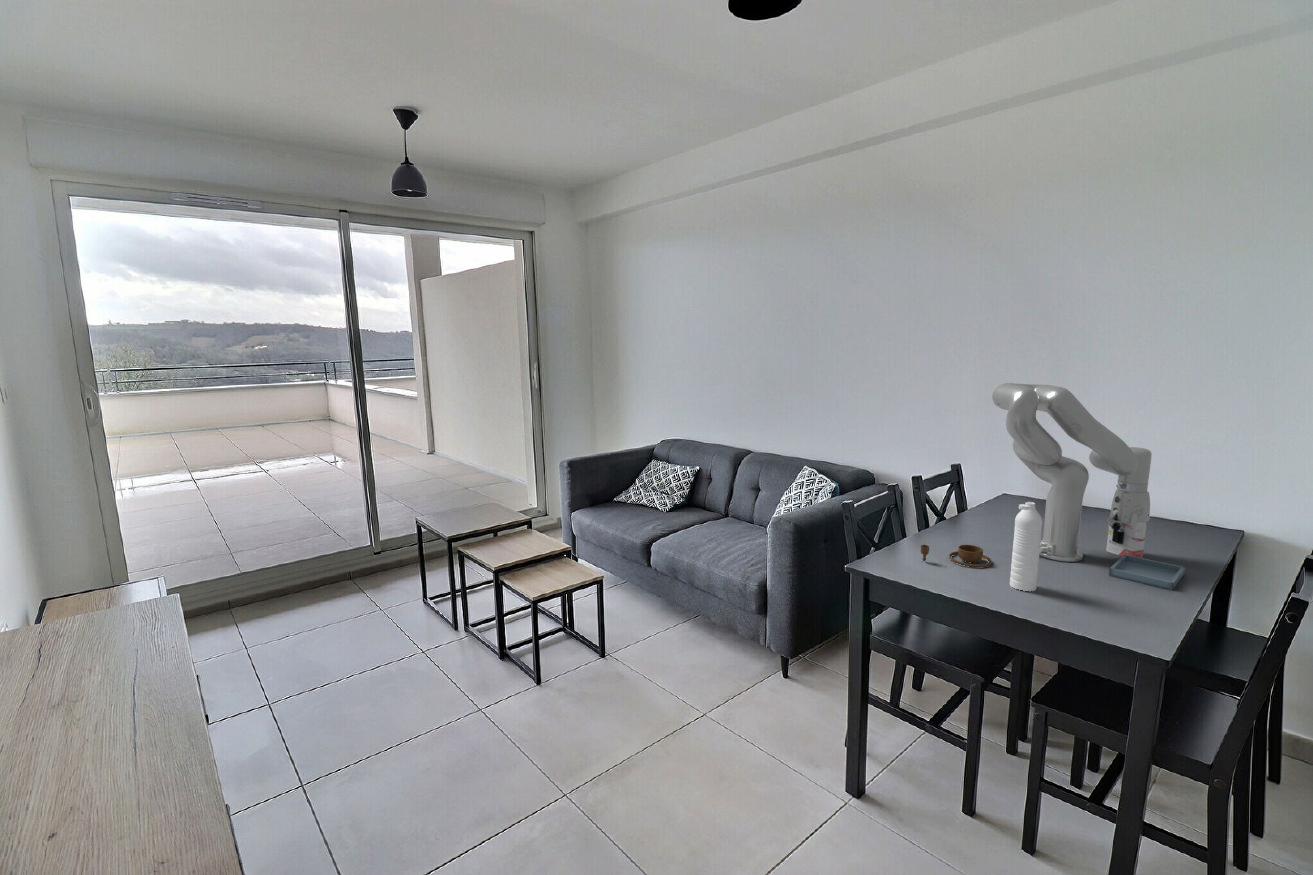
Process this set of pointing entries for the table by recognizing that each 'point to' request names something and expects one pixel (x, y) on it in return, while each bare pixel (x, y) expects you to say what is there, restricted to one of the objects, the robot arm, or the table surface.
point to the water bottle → (1026, 548)
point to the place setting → (963, 555)
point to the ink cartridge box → (1129, 539)
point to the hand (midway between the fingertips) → (1125, 541)
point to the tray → (1147, 572)
